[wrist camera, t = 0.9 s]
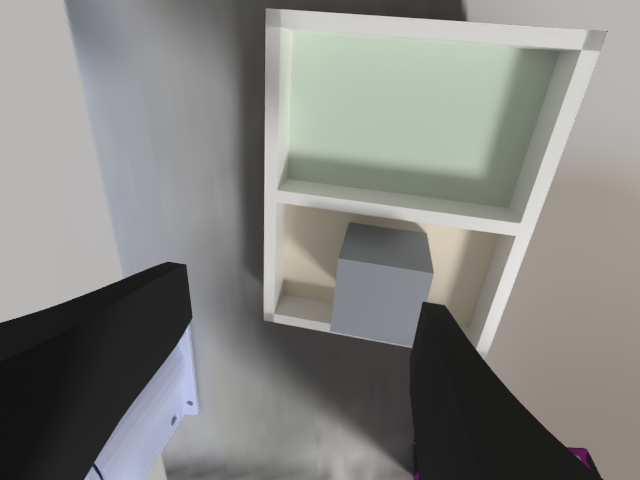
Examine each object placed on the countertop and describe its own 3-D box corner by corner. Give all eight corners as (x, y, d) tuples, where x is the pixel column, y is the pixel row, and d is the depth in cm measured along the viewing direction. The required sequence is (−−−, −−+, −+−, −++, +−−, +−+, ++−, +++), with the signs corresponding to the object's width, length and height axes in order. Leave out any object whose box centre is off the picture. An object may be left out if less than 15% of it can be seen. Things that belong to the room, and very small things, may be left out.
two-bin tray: (475, 330, 21) (484, 361, 19) (276, 295, 23) (263, 320, 21) (575, 36, 15) (607, 31, 12) (283, 15, 16) (265, 8, 14)
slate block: (412, 297, 20) (415, 347, 17) (341, 285, 21) (330, 331, 17) (427, 233, 19) (434, 273, 15) (349, 222, 19) (338, 258, 16)
